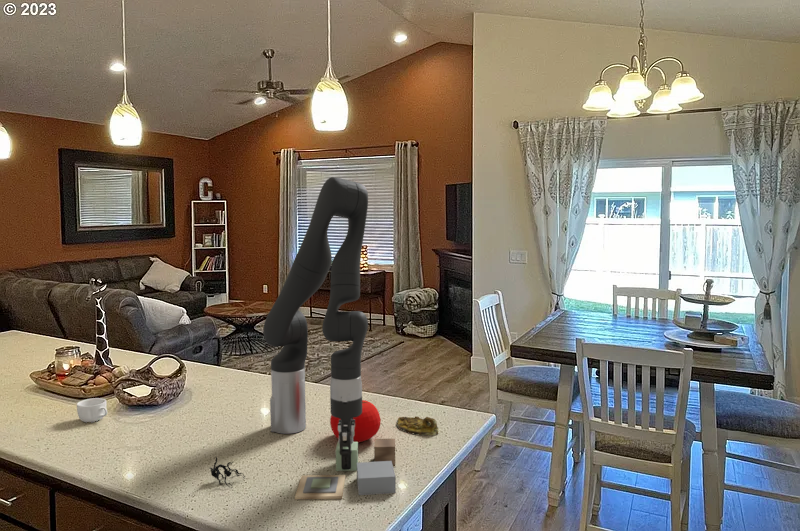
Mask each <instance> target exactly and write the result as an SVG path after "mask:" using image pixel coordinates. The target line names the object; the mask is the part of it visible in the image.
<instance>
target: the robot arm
mask: <svg viewBox="0 0 800 531" xmlns="http://www.w3.org/2000/svg"><path fill="white" fill-rule="evenodd" d="M368 207H369V192H368V190H367V187H366V186H365V185H364V184H363V183H360V182H356V181H353V180H348V179H344V178H339V177H333V176H332V177H329V178H327V179H326V181H325V182H324V183H323V185H322V186H321V189H320V191H319V195H318V197H317V200H316V203H315V206H314V209H313V213H312V216H311V219H310V223H309V224H308V227H307V229H306V232H305V235H304V237H303V240H302V242H301V244H300V246H299V249H298V251H297V253H296V255H295V258H294V260H293V262H292V265H291V268H290V270H289V272H288V275H287V277H286V278H285V281H284V284H283V286H282V289H281V290H280V293H279V295H278V296H277V298H276V300H275V301H274V303H273V305H272V307H271V309H270V310H269V313H268V314H267V316H266V319H265V320H264V324H263V331H262V332H263V333H262V334H263V338H264V340H265V342H266V343H267V344H268V345H269V346H271V347H282V348H281V350H280V351H279V352H278V353H277V354H276V355H274V356H273V358H272V359H271V361H270V369H271V371H270V372H271V373H270V374H271V375H270V376H271V396H270V398H269V402H270V403H269V406H270V409H269V410H270V412H269V413H270V432H271V433H278V434H282V435H284V434H285V435H287V434H290V435H291V434H296V433H299V432H302V431H304V430H305V429H306V427H307V422H306V421H307V418H306V413H307V412H306V409H307V408H306V368H305V367H306V366H305V363H306V361H307V358H308V343H309V342H308V337H309V336H308V335H309V333H308V332H309V328H308V322H307V318H306V316H305V315H304V313H303V312H302V311H300V310H299V309H300V308H301V306H303V305H304V304H305V303H306V302H307V301H308V300H309V299H310V298H312V296H313V295H314V294H315V293H316V292H318V290H319V289H320V288H321V286H323V283H324V282H325V280H326V279H327V276H328V273H329V271H330V293H329V301H328V304H327V308H326V311H325V316H324V319H323V322H322V327H321V328H322V335H323V336H324V338H325V339H326V340H327V341H328V342H352V344H351V345H350V346H348V347H346V348H344V349H340V350H336V351H333V353H332V354H331V357H330V384H329V386H330V387H329V388H330V389H329V391H330V392H329V394H330V395H329V396H330V416H331V415H332V416H334V417H336V418H340V419H341V420H339V424H338V431H339V439H338V442H339V444H340V452H339V453H340V455H341V462H342V469H343V470H346V469H351V453H352V450H351V444H352V443H353V442H354V434H355V420H353V417H358V416H360V415H361V414H362V400H363V383H362V371H361V370H362V352H363V346H364V344H365V339H366V336H367V333H368V330H369V329H368V328H369V320H368V317H367V316H366V314H365V313H364V312H363V311H359V310H351V311H348V310H345V311H344V310H343V311H341V310H339V309H340V307H341V306H342V305H344V304H348V303H352V302H357V301H358V300H359V299H360V298H361V297H360V296H361V258H362V257H361V256H362V249H363V244H364V238H365V237H364V236H365V230H366V223H367V218H368V217H367V216H368ZM333 217H338V218H339V217H340V218H344V219H347V222H348V223H347V225H348V226H347V232H346V236H345V238H344V240H343V242H342V244H341V246H340V247H339V249H338V250H337V251H336V254H335V255H334V257H333V258H332V252H331V251H332V250H331V247H330V242H329V238H328V232H329V231H328V230H329V227H330V223H331V221H332V218H333ZM343 447H348V449H343Z"/></svg>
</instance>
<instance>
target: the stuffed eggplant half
mask: <svg viewBox="0 0 800 531" xmlns="http://www.w3.org/2000/svg"><path fill="white" fill-rule="evenodd" d="M396 427H397V428H398V429H399V428H400V429H402V430H404V431H403V432H405V431H406V432H405V433H408V432H409V433H408V434H412V433H414V434H413V435H416V434H419V435H418V436H438V434H439V433H438V432H440V430H439V427H438V422H437V420H436V419H435V418H432V417H429V416H426V417H424V418H420V417H419V416H414V417H410V416H409V417H408V416H399V417H398V418H397V421H396ZM400 429H399V430H400ZM402 430H401V431H402Z"/></svg>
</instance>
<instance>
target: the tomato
mask: <svg viewBox="0 0 800 531" xmlns="http://www.w3.org/2000/svg"><path fill="white" fill-rule="evenodd" d="M381 419H382V418H381V416H380V413H379V410H378V409H377V407H376V406H375V405H374V404H373V403H372V402H370V401H368V400H365V399H362V414H361V415H360V416H358V417H353V420H355V434H354V442H358V443H362V442H365V441H368V440H370V439H372V438H373V437H374V436H375V435H377V433H378V432H379V430H380V427H381V424H382V422H381ZM339 420H341V419H340V418H336V417H334V416H332V415H331V414H330V418H329V422H330V429H331V431H332V432H333V434H334V436H335V438H337V439H338V440H339V431H338V424H339Z"/></svg>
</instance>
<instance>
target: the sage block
mask: <svg viewBox="0 0 800 531" xmlns="http://www.w3.org/2000/svg"><path fill="white" fill-rule="evenodd" d="M343 449H348V447H343ZM351 450H352V453H351V469H346V470H343V469H342V462H341V455H340V453H339V452H340V444H339V441H337V443H336V447H335V471H336V472H343V471H344V472H352V471H353V472H357V463H359V442H353V443H352V444H351Z"/></svg>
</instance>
